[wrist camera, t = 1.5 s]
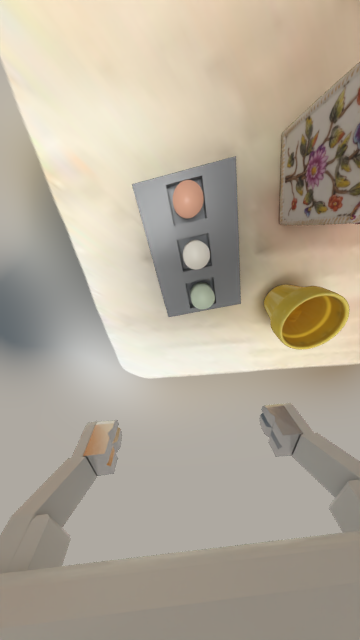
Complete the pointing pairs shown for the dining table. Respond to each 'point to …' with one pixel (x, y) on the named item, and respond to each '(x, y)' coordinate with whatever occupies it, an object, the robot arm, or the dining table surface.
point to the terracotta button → (188, 199)
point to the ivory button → (196, 254)
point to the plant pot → (305, 315)
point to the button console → (193, 235)
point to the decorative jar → (324, 159)
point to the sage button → (202, 295)
